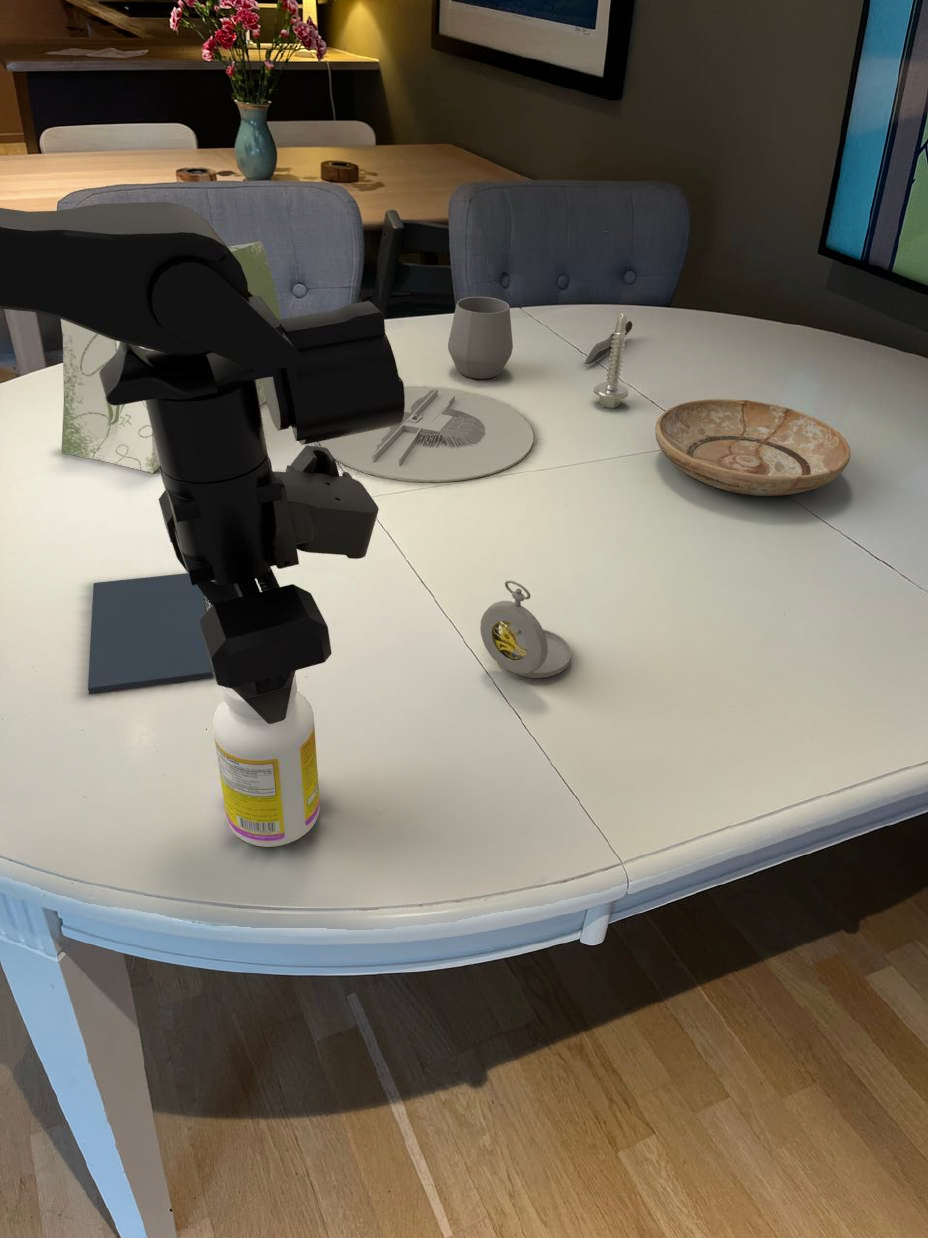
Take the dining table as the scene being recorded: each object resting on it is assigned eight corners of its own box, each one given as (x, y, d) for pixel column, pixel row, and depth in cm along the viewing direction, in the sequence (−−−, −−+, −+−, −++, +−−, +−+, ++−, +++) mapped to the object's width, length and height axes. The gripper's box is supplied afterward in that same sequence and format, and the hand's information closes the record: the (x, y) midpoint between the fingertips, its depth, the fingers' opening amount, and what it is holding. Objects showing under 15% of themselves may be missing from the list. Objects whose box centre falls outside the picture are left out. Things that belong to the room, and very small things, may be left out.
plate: (370, 376, 138) (370, 368, 137) (557, 411, 131) (558, 402, 130) (276, 454, 116) (275, 445, 115) (494, 501, 109) (495, 491, 108)
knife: (587, 371, 144) (590, 352, 142) (578, 369, 144) (580, 349, 142) (633, 338, 157) (636, 320, 155) (624, 336, 157) (627, 318, 156)
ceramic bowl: (862, 463, 122) (873, 427, 119) (806, 538, 106) (818, 498, 103) (692, 415, 132) (699, 381, 129) (618, 477, 116) (624, 438, 113)
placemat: (213, 677, 81) (212, 671, 81) (88, 693, 79) (87, 688, 78) (202, 576, 94) (201, 571, 93) (94, 587, 91) (93, 582, 91)
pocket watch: (570, 640, 88) (583, 547, 82) (569, 698, 81) (583, 602, 76) (482, 631, 89) (489, 538, 83) (474, 689, 82) (480, 592, 76)
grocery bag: (210, 364, 138) (191, 193, 125) (294, 382, 135) (284, 207, 121) (57, 451, 114) (13, 250, 100) (155, 476, 110) (123, 269, 97)
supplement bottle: (295, 770, 73) (284, 635, 65) (336, 826, 68) (330, 688, 61) (211, 805, 70) (190, 666, 62) (249, 866, 65) (231, 725, 58)
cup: (464, 356, 146) (468, 290, 140) (520, 369, 143) (526, 302, 137) (436, 376, 139) (438, 307, 133) (494, 389, 136) (499, 319, 130)
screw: (625, 413, 132) (590, 409, 132) (627, 399, 135) (593, 395, 136) (640, 319, 124) (603, 315, 125) (641, 308, 128) (605, 304, 128)
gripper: (413, 505, 47) (428, 732, 57) (311, 370, 61) (337, 571, 71) (187, 558, 44) (243, 789, 54) (133, 402, 58) (185, 608, 67)
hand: (259, 675), depth 61 cm, fingers open, 9 cm apart
